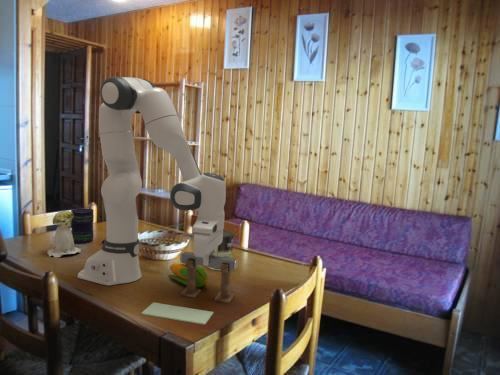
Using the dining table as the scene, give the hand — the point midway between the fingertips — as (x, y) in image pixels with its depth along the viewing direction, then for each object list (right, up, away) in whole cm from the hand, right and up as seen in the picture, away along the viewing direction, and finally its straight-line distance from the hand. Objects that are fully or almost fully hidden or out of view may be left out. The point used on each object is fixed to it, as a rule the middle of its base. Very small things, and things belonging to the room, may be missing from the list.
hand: (208, 262), depth 137 cm
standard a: (-6, -11, +3) cm, 13 cm away
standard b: (+5, -12, 0) cm, 13 cm away
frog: (-65, -3, +37) cm, 75 cm away
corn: (-9, -10, +12) cm, 18 cm away
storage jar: (-65, 0, +55) cm, 85 cm away
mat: (-8, -13, -13) cm, 20 cm away
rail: (0, -1, 0) cm, 1 cm away
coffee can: (+1, -8, +32) cm, 33 cm away
